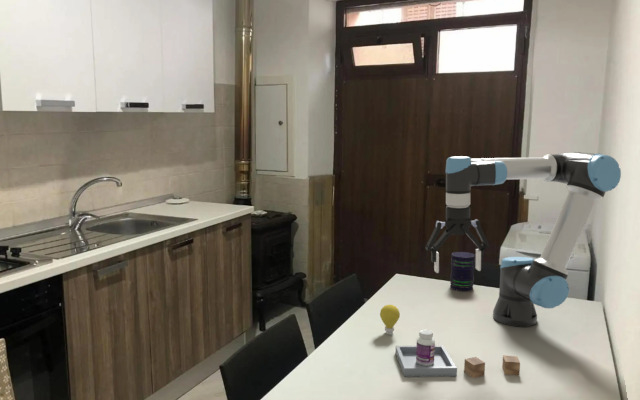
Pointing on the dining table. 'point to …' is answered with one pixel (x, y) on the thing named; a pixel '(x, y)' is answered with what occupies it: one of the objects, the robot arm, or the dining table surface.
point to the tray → (412, 369)
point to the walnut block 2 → (511, 365)
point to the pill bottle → (425, 348)
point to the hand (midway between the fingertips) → (457, 270)
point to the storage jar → (462, 271)
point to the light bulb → (389, 317)
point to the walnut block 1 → (474, 367)
